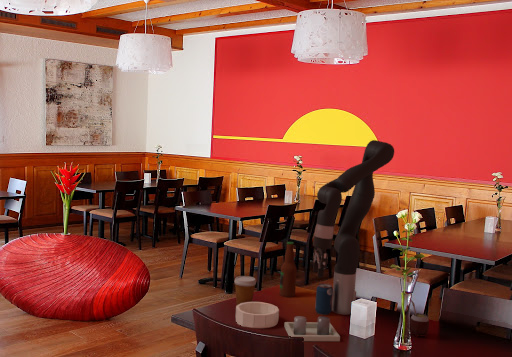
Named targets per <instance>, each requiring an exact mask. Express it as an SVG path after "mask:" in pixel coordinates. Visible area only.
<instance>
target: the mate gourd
mask: <svg viewBox="0 0 512 357" xmlns="http://www.w3.org/2000/svg"><path fill="white" fill-rule="evenodd" d="M410 302H411V304H412V307H413V311H414V313H413V314H412V315H411V317H410V320H409V324H410V327H409V328H410V332H411V333H414V334H416V335H415V336H417V335H426V336H427V334H428V331H429V326H430V320H429V317H428V316H427V314H424V313H421V312H420V313H419V312H416V311H417V310H416V307H415V306H416V305H415V302H414V301H413V300H412V299H411V301H410ZM411 333H410V334H411Z"/></svg>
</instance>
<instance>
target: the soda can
mask: <svg viewBox="0 0 512 357" xmlns="http://www.w3.org/2000/svg"><path fill="white" fill-rule="evenodd" d="M332 286H333V285H332V284H330V283H322V282H321V283H318V285H317V287H316V291H315V303H314V304H315V306H314V308H315V310H314V311H315V312H316V314H318V315H320V316H327V315H330V314H331V313H332V312H333V311H332V299H333V287H332Z"/></svg>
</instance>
